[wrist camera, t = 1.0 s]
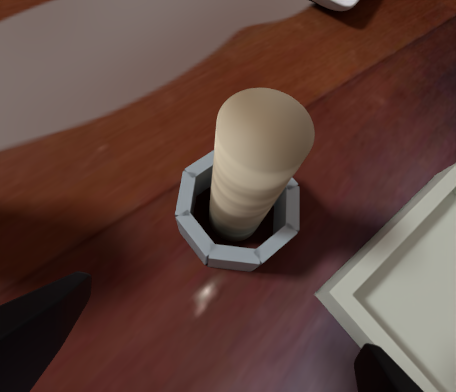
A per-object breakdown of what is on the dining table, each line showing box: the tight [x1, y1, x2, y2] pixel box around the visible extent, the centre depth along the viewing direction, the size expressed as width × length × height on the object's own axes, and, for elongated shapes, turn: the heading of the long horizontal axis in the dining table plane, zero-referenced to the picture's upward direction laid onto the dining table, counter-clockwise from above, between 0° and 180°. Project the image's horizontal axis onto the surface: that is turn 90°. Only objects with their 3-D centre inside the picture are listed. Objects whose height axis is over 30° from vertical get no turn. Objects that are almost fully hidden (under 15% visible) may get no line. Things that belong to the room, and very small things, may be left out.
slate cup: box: [175, 150, 299, 272], centre depth 22 cm, size 9×9×4 cm
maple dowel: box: [209, 88, 314, 242], centre depth 18 cm, size 4×4×13 cm
